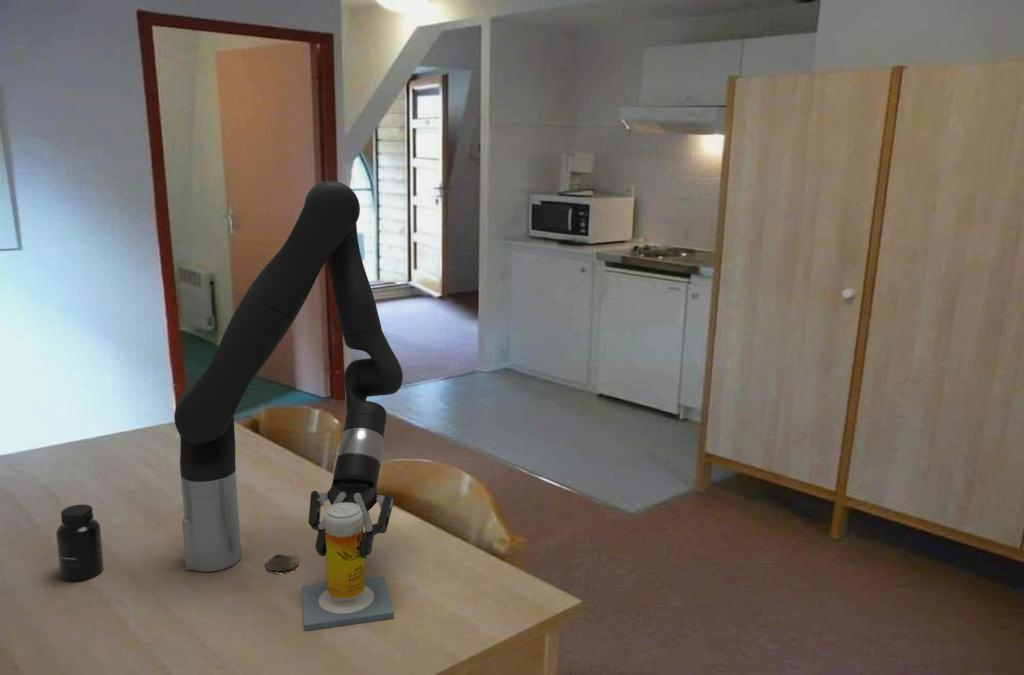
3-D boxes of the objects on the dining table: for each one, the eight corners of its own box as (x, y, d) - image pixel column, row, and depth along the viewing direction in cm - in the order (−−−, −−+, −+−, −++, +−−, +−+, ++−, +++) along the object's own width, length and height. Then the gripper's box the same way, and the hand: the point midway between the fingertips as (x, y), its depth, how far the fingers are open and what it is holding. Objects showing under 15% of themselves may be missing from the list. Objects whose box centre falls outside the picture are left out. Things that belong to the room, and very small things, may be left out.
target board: (304, 630, 125) (304, 623, 125) (301, 591, 136) (301, 584, 136) (393, 618, 129) (393, 611, 128) (384, 580, 140) (384, 574, 140)
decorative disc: (258, 574, 142) (258, 569, 141) (271, 557, 148) (271, 552, 148) (294, 576, 141) (294, 571, 141) (306, 559, 147) (305, 554, 147)
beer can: (356, 604, 129) (354, 519, 125) (321, 600, 130) (318, 515, 126) (370, 585, 134) (368, 503, 131) (336, 581, 136) (334, 499, 132)
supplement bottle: (60, 586, 136) (52, 521, 133) (61, 568, 142) (53, 505, 139) (104, 577, 139) (98, 513, 137) (104, 559, 145) (97, 498, 142)
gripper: (312, 449, 135) (292, 546, 126) (396, 453, 134) (382, 551, 125) (323, 466, 141) (304, 560, 132) (403, 470, 140) (390, 565, 131)
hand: (342, 555), depth 129 cm, fingers open, 6 cm apart
